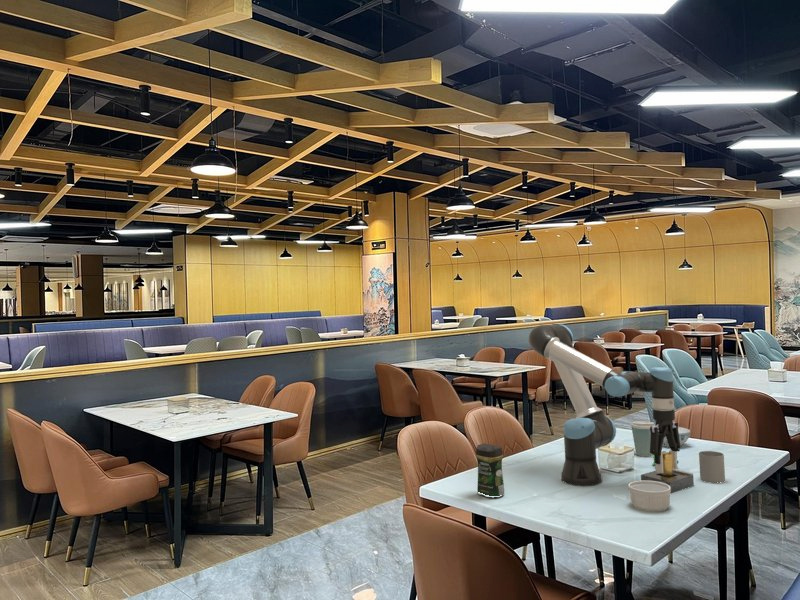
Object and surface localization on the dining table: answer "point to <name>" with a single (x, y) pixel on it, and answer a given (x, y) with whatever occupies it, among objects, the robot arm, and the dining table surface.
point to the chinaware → (680, 436)
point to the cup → (712, 466)
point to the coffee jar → (490, 470)
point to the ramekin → (650, 495)
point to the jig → (671, 479)
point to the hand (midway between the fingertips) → (666, 470)
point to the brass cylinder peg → (667, 465)
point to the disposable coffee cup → (642, 437)
